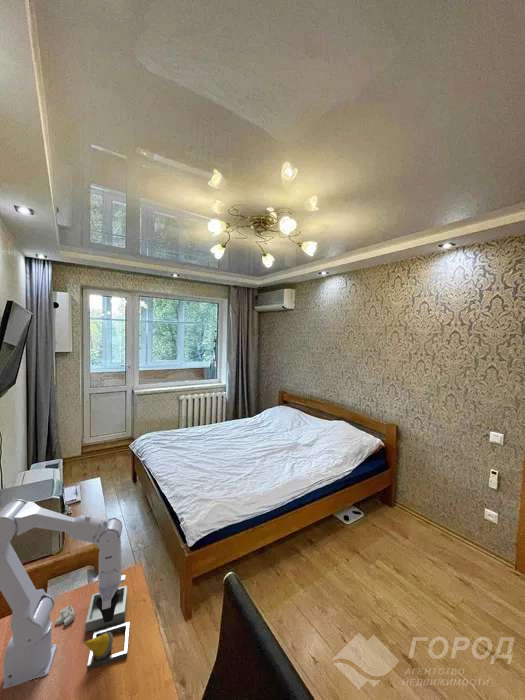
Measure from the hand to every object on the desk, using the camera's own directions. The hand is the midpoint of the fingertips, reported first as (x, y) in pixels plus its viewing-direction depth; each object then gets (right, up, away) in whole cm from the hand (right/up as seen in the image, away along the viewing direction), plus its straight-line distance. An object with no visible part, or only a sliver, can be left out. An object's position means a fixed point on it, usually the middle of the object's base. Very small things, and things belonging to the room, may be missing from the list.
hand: (109, 612), depth 83 cm
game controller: (-19, -12, +7) cm, 23 cm away
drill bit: (+1, -10, 0) cm, 10 cm away
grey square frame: (0, -10, 0) cm, 10 cm away
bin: (-6, -10, +10) cm, 15 cm away
